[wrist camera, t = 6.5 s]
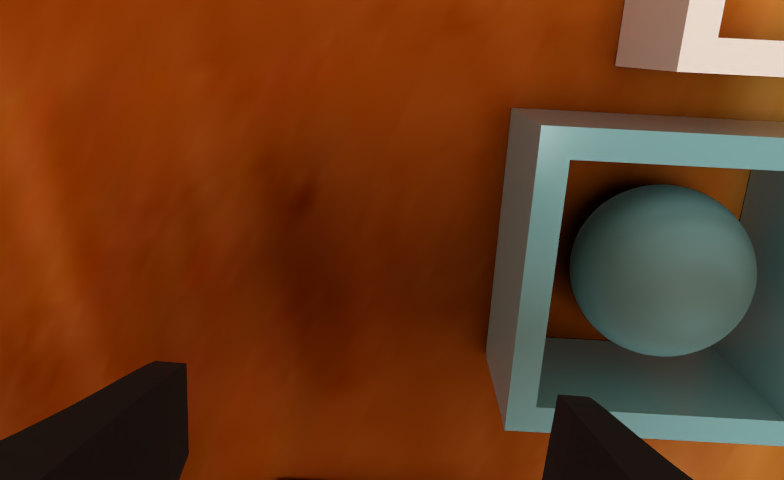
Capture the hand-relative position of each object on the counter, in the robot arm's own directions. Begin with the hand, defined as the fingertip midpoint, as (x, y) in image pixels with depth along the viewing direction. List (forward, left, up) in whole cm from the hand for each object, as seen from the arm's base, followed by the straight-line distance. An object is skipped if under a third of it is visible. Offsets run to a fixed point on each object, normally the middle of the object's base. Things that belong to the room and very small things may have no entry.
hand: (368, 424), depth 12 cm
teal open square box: (+1, -8, -9) cm, 12 cm away
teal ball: (+1, -8, -7) cm, 11 cm away
